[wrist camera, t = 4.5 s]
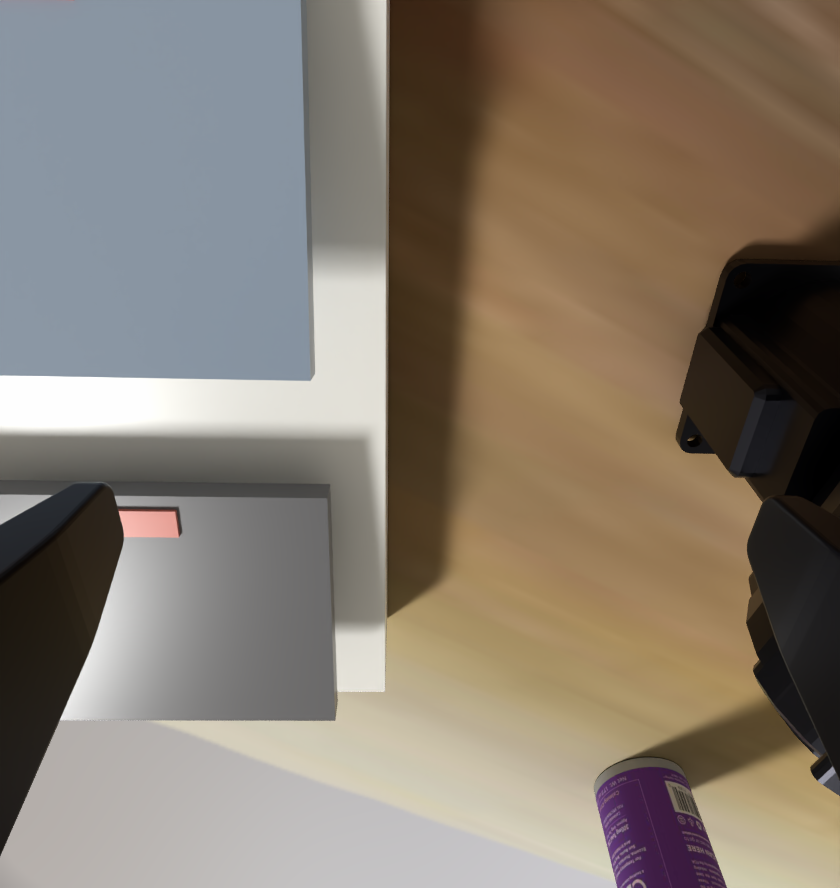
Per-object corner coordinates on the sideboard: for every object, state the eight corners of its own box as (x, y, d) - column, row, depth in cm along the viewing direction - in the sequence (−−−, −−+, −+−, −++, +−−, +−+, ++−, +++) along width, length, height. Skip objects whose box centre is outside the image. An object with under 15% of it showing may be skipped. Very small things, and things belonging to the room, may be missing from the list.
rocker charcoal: (333, 467, 19) (326, 500, 18) (340, 677, 23) (334, 723, 21) (-54, 461, 19) (-102, 495, 17) (10, 676, 22) (-24, 723, 21)
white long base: (390, -218, 14) (386, -286, 11) (387, 619, 27) (384, 696, 24) (-303, -251, 13) (-515, -330, 10) (40, 616, 27) (-7, 695, 24)
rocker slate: (312, -31, 13) (297, -74, 11) (320, 364, 16) (309, 382, 14) (-254, -52, 13) (-365, -100, 11) (-158, 356, 15) (-235, 372, 14)
